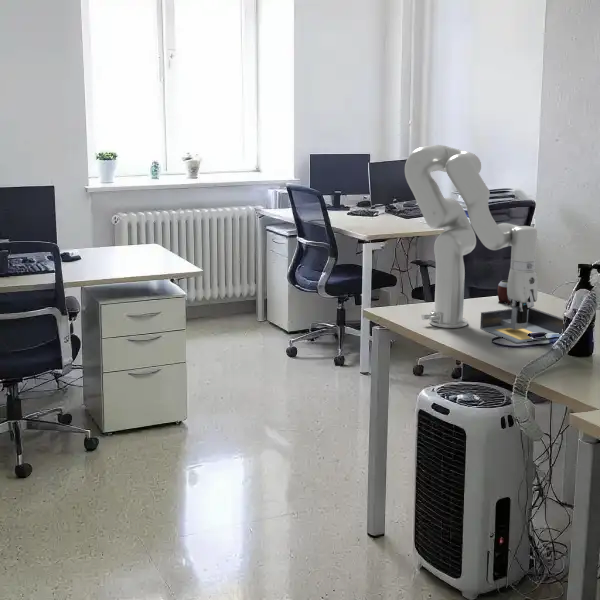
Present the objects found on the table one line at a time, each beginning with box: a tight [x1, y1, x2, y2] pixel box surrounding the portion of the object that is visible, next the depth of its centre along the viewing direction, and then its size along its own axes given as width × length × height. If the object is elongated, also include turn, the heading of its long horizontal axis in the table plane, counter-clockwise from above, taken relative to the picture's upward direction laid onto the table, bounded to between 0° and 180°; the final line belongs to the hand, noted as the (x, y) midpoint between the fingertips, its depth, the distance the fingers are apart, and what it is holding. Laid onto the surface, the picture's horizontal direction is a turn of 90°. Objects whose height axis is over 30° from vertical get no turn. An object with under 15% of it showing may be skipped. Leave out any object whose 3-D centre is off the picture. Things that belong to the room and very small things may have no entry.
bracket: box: [501, 306, 529, 330], centre depth 292 cm, size 7×5×7 cm
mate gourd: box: [497, 279, 512, 306], centre depth 331 cm, size 8×8×15 cm
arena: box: [479, 307, 565, 344], centre depth 293 cm, size 19×19×6 cm
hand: (519, 321), depth 290 cm, fingers closed on bracket
